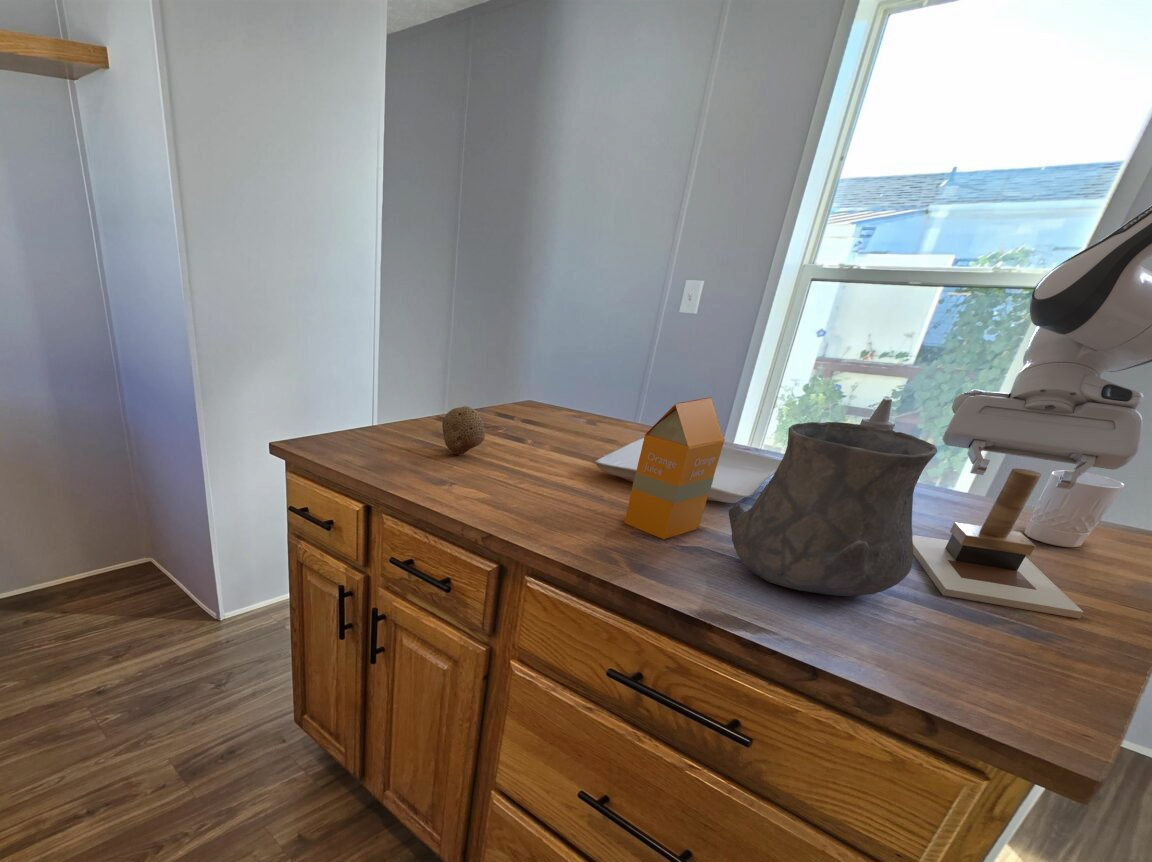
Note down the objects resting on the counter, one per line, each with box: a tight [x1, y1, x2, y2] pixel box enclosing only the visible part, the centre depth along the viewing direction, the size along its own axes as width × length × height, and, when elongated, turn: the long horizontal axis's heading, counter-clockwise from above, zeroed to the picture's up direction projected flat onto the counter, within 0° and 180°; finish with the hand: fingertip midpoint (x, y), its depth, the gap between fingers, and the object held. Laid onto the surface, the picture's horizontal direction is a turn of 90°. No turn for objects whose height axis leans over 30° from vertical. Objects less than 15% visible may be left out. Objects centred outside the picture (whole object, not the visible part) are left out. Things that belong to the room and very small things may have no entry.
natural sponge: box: [441, 405, 487, 456], centre depth 136 cm, size 9×9×10 cm
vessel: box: [727, 421, 938, 597], centre depth 86 cm, size 22×22×20 cm
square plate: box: [593, 437, 782, 504], centre depth 126 cm, size 27×27×4 cm
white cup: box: [1023, 469, 1126, 548], centre depth 101 cm, size 8×8×10 cm
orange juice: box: [623, 396, 726, 540], centre depth 101 cm, size 8×9×20 cm
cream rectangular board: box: [912, 534, 1084, 619], centre depth 92 cm, size 14×20×1 cm
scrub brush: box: [945, 468, 1042, 571], centre depth 91 cm, size 8×6×13 cm
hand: (1020, 479), depth 94 cm, fingers open, 8 cm apart
